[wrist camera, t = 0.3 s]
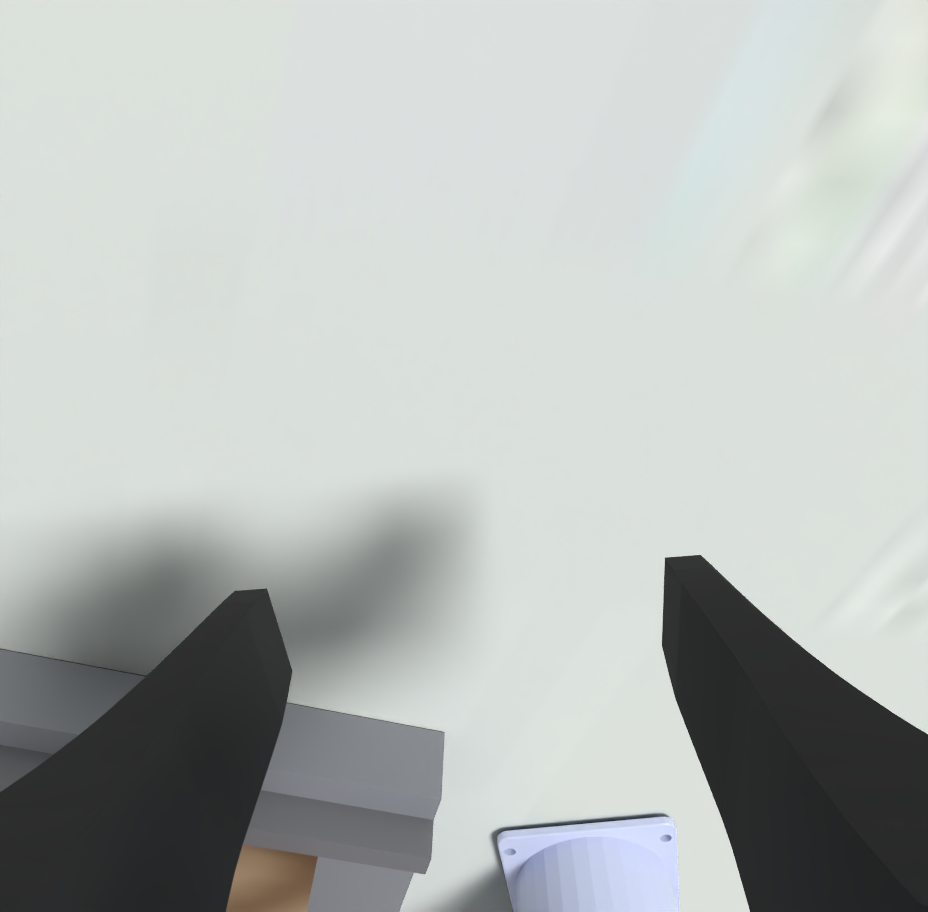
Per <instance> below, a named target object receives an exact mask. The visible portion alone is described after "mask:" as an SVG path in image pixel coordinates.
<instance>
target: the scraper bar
mask: <svg viewBox="0 0 928 912" xmlns="http://www.w3.org/2000/svg"><path fill="white" fill-rule="evenodd" d="M317 859H318V857H317V856H311V855H305V854H299V853H293V852H287V851H281V850H275V849H268V848H262V847H256V846H250V845H244V844H243V845H242V849H241V852H240V856H239V859H238V863H237V866H236V870H235V873H234V878H233V882H232V887H231V891H230V895H229V900H228V904H227V909H226V912H307V907H308V902H309V898H310V893H311V888H312V883H313V878H314V873H315V868H316V864H317Z"/></svg>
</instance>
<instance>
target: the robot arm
mask: <svg viewBox="0 0 928 912" xmlns="http://www.w3.org/2000/svg"><path fill="white" fill-rule="evenodd" d="M662 647H663V651H664V655H665V659H666V663H667V668H668V672H669V676H670V679H671V683H672V687H673V691H674V694H675V698H676V701H677V704H678V706H679V709H680V712H681V714H682V717H683V719H684V722H685V725H686V727H687V730H688V732H689V735H690V738H691V740H692V743H693V745H694V748H695V751H696V753H697V756H698V758H699V761H700V763H701V766H702V768H703V771H704V774H705V776H706V779H707V781H708V784H709V786H710V789H711V792H712V794H713V797H714V799H715V802H716V804H717V807H718V809H719V812H720V815H721V817H722V820H723V823H724V826H725V829H726V832H727V834H728V837H729V840H730V843H731V846H732V849H733V853H734V856H735V860H736V863H737V867H738V870H739V874H740V877H741V881H742V884H743V888H744V891H745V895H746V898H747V902H748V905H749V909H750V912H928V734H926V733H925V732H923V731H921V730H919V729H918V728H916V727H914V726H913V725H911V724H910V723H908V722H906V721H905V720H903V719H902V718H900V717H898V716H897V715H895V714H894V713H892V712H891V711H889V710H888V709H886V708H885V707H883V706H882V705H880V704H879V703H877V702H876V701H874V700H873V699H871V698H870V697H868V696H867V695H865V694H864V693H862V692H861V691H860V690H858V689H857V688H855V687H854V686H852V685H851V684H849V683H848V682H847V681H845V680H844V679H842V678H841V677H840V676H838V675H837V674H836V673H834V672H833V671H832V670H830V669H829V668H828V667H826V666H825V665H824V664H823V663H821V662H820V661H819V660H817V659H816V658H815V657H814V656H812V655H811V654H810V653H808V652H807V651H806V650H805V649H804V648H802V647H801V646H800V645H799V644H798V643H796V642H795V641H794V640H793V639H792V638H790V637H789V636H788V635H787V634H786V633H785V632H783V631H782V630H781V629H780V628H779V627H778V626H777V625H775V624H774V623H773V622H772V621H771V620H770V619H769V618H767V617H766V616H765V615H764V614H763V613H762V612H761V611H760V610H758V609H757V608H756V607H755V606H754V605H753V604H752V603H751V602H750V601H749V600H748V599H746V598H745V597H744V596H743V595H742V594H741V593H740V592H739V591H738V590H737V589H736V588H735V587H734V586H733V585H732V584H731V583H730V582H728V581H727V580H726V579H725V578H724V577H723V576H722V575H721V574H720V573H719V572H718V571H717V570H716V569H715V568H714V567H713V566H712V565H711V564H710V563H709V562H708V561H707V560H705V559H704V558H703V557H702V556H701V555H695V556H682V557H669V558H665V575H664V603H663V632H662ZM291 675H292V669H291V666H290V662H289V659H288V656H287V653H286V649H285V646H284V643H283V640H282V636H281V633H280V630H279V627H278V623H277V620H276V617H275V614H274V610H273V607H272V604H271V601H270V598H269V594H268V591H267V589H257V590H244V591H234V592H233V593H232V594H231V595H230V596H229V597H228V598H227V599H226V600H224V601H223V602H222V603H221V604H220V605H219V606H218V607H217V608H216V609H215V610H214V611H213V612H212V613H211V614H210V615H209V616H208V617H207V618H206V619H205V620H204V621H203V622H202V623H201V624H200V625H199V626H198V627H197V628H196V629H195V630H194V631H193V632H192V633H191V634H190V635H189V636H188V637H187V638H186V639H185V640H184V641H183V642H182V643H181V644H180V645H179V646H178V647H177V648H176V649H174V650H173V651H172V652H171V653H170V654H169V655H168V656H167V657H166V658H165V659H164V660H163V661H162V662H161V663H160V664H159V665H158V666H157V667H156V668H155V669H154V670H153V671H152V672H151V673H150V674H148V675H147V676H146V677H145V678H144V679H143V680H142V681H141V682H139V683H138V684H137V685H136V686H135V687H134V688H133V689H132V690H131V691H129V692H128V693H127V694H126V695H125V696H124V697H123V698H122V699H120V700H119V701H118V702H117V703H116V704H115V705H114V706H113V707H112V708H110V709H109V710H108V711H107V712H106V713H105V714H104V715H102V716H101V717H100V718H99V719H98V720H96V721H95V722H94V723H93V724H92V725H90V726H89V727H88V728H87V729H85V730H84V731H83V732H82V733H81V734H79V735H78V736H77V737H76V738H74V739H73V740H72V741H70V742H69V743H68V744H66V745H65V746H64V747H63V748H61V749H60V750H59V751H57V752H56V753H55V754H53V755H52V756H51V757H50V758H48V759H47V760H46V761H44V762H43V763H41V764H40V765H39V766H37V767H36V768H35V769H33V770H32V771H30V772H29V773H27V774H26V775H24V776H23V777H22V778H20V779H19V780H17V781H16V782H14V783H13V784H11V785H10V786H8V787H7V788H6V789H4V790H3V791H1V792H0V912H226V909H227V904H228V900H229V895H230V891H231V887H232V882H233V878H234V873H235V870H236V866H237V863H238V859H239V856H240V852H241V849H242V845H243V842H244V839H245V836H246V833H247V830H248V827H249V824H250V821H251V818H252V815H253V812H254V809H255V806H256V803H257V800H258V797H259V794H260V791H261V788H262V785H263V782H264V779H265V776H266V773H267V770H268V767H269V764H270V761H271V757H272V754H273V751H274V748H275V745H276V742H277V739H278V736H279V732H280V729H281V726H282V722H283V717H284V713H285V708H286V703H287V698H288V692H289V686H290V680H291ZM497 843H498V849H499V853H500V857H501V862H502V866H503V870H504V874H505V878H506V882H507V886H508V891H509V895H510V899H511V903H512V907H513V911H514V912H680V906H679V880H678V854H677V829H676V825H675V822H674V820H673V819H672V818H669V817H653V818H642V819H631V820H620V821H609V822H598V823H587V824H576V825H565V826H554V827H543V828H532V829H521V830H510V831H504V832H502V833H500V834H499V835H498V838H497Z"/></svg>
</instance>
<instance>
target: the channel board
mask: <svg viewBox="0 0 928 912" xmlns="http://www.w3.org/2000/svg"><path fill="white" fill-rule="evenodd" d="M145 677H146V676H140V675H135V674H130V673H124V672H119V671H114V670H108V669H103V668H98V667H92V666H87V665H82V664H76V663H71V662H66V661H60V660H55V659H50V658H44V657H39V656H34V655H28V654H23V653H18V652H12V651H7V650H2V649H0V792H1V791H3V790H4V789H6V788H7V787H8V786H10V785H11V784H13V783H14V782H16V781H17V780H19V779H20V778H22V777H23V776H24V775H26V774H27V773H29V772H30V771H32V770H33V769H35V768H36V767H37V766H39V765H40V764H41V763H43V762H44V761H46V760H47V759H48V758H50V757H51V756H52V755H53V754H55V753H56V752H57V751H59V750H60V749H61V748H63V747H64V746H65V745H66V744H68V743H69V742H70V741H72V740H73V739H74V738H76V737H77V736H78V735H79V734H81V733H82V732H83V731H84V730H85V729H87V728H88V727H89V726H90V725H92V724H93V723H94V722H95V721H96V720H98V719H99V718H100V717H101V716H102V715H104V714H105V713H106V712H107V711H108V710H109V709H110V708H112V707H113V706H114V705H115V704H116V703H117V702H118V701H119V700H120V699H122V698H123V697H124V696H125V695H126V694H127V693H128V692H129V691H131V690H132V689H133V688H134V687H135V686H136V685H137V684H138V683H139V682H141V681H142V680H143V679H144V678H145ZM443 753H444V732H439V731H434V730H428V729H423V728H418V727H412V726H407V725H402V724H396V723H391V722H386V721H380V720H375V719H370V718H364V717H359V716H354V715H348V714H343V713H338V712H332V711H327V710H322V709H316V708H311V707H306V706H300V705H295V704H290V703H286V708H285V713H284V717H283V722H282V726H281V729H280V732H279V736H278V739H277V742H276V745H275V748H274V751H273V754H272V757H271V761H270V764H269V767H268V770H267V773H266V776H265V779H264V782H263V785H262V788H261V791H260V794H259V797H258V800H257V803H256V806H255V809H254V812H253V815H252V818H251V821H250V824H249V827H248V830H247V833H246V836H245V839H244V842H243V844H244V845H250V846H256V847H262V848H268V849H275V850H281V851H287V852H293V853H299V854H305V855H311V856H317V857H318V859H317V864H316V868H315V873H314V878H313V883H312V888H311V893H310V898H309V902H308V907H307V912H399V911H400V908H401V905H402V903H403V900H404V897H405V895H406V892H407V889H408V887H409V884H410V881H411V879H412V876H413V873H420V874H425V873H426V871H427V868H428V866H429V863H430V861H431V853H432V836H433V820H434V817H435V814H436V812H437V809H438V806H439V804H440V801H441V794H442V774H443Z"/></svg>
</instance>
